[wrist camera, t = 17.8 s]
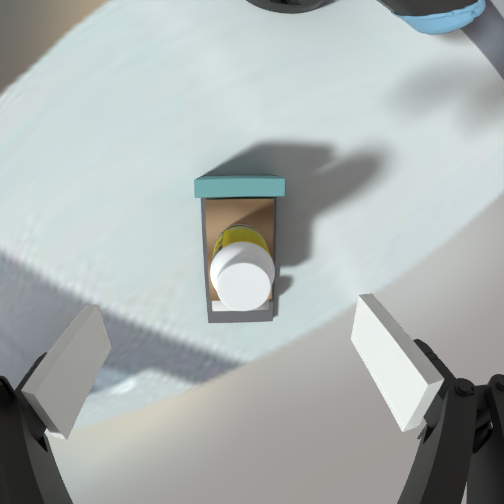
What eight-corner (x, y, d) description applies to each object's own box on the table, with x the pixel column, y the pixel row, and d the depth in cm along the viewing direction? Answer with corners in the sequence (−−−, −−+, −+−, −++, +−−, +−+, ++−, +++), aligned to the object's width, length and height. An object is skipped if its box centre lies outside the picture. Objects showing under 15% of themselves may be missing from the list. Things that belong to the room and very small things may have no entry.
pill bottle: (214, 222, 33) (206, 252, 22) (266, 223, 33) (283, 253, 23) (214, 271, 35) (208, 318, 24) (264, 272, 35) (277, 318, 25)
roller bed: (201, 176, 36) (194, 179, 30) (275, 175, 37) (285, 178, 31) (208, 320, 43) (205, 346, 37) (271, 318, 44) (278, 344, 37)
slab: (206, 197, 34) (205, 200, 32) (271, 196, 34) (273, 199, 33) (211, 293, 38) (210, 300, 36) (269, 292, 39) (271, 299, 37)
